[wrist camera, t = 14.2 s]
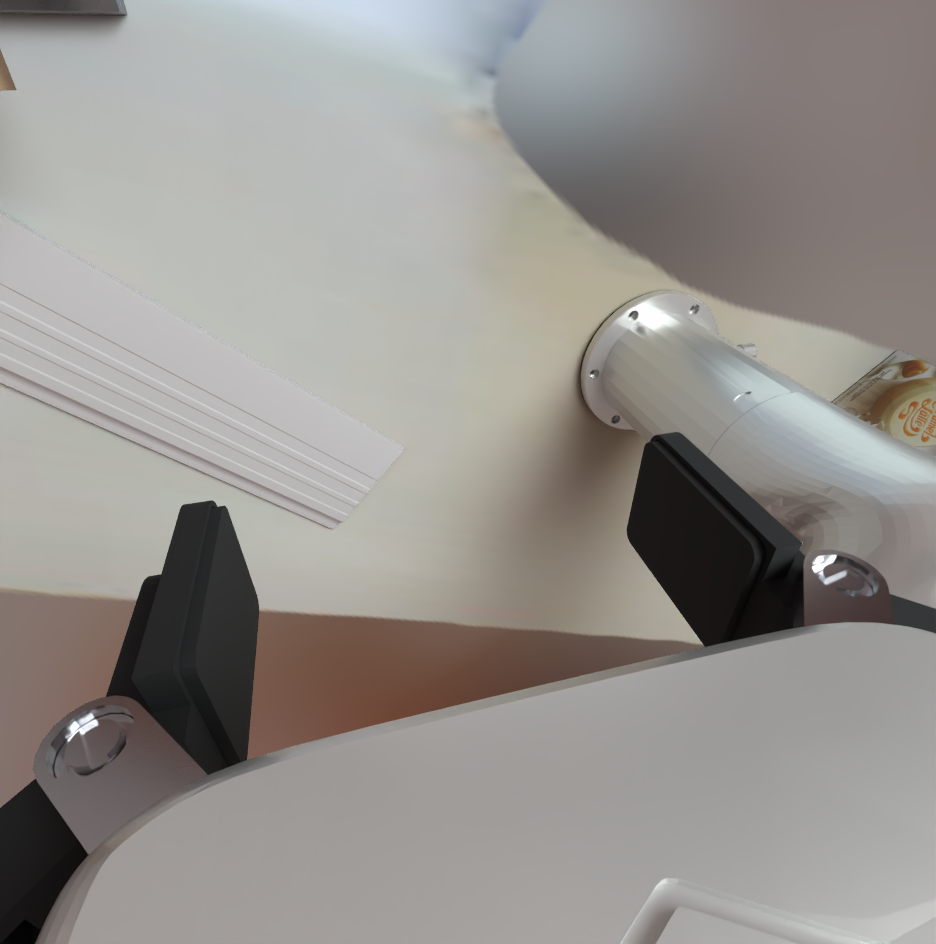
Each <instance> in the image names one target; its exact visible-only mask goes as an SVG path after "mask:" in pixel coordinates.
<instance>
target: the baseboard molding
mask: <svg viewBox="0 0 936 944" xmlns="http://www.w3.org/2000/svg"><path fill="white" fill-rule="evenodd" d="M0 383H2V384H4V385H7V386H9V387H11V388H13V389H16V390H18V391H20V392H22V393H25V394H27V395H29V396H31V397H34V398H36V399H38V400H41V401H43V402H45V403H47V404H50V405H52V406H54V407H56V408H59V409H61V410H63V411H66V412H68V413H70V414H72V415H75V416H77V417H79V418H81V419H84V420H86V421H88V422H90V423H93V424H95V425H97V426H100V427H102V428H104V429H106V430H109V431H111V432H113V433H115V434H118V435H120V436H122V437H124V438H127V439H129V440H131V441H134V442H136V443H138V444H140V445H143V446H145V447H147V448H149V449H152V450H154V451H156V452H158V453H161V454H163V455H165V456H168V457H170V458H172V459H174V460H177V461H179V462H181V463H183V464H186V465H188V466H190V467H193V468H195V469H197V470H199V471H202V472H204V473H206V474H208V475H211V476H213V477H215V478H217V479H220V480H222V481H224V482H227V483H229V484H231V485H233V486H236V487H238V488H240V489H242V490H245V491H247V492H249V493H251V494H254V495H256V496H258V497H261V498H263V499H265V500H267V501H270V502H272V503H274V504H276V505H279V506H281V507H283V508H286V509H288V510H290V511H292V512H295V513H297V514H299V515H301V516H304V517H306V518H308V519H310V520H313V521H315V522H317V523H320V524H322V525H324V526H326V527H329V528H331V529H334V528H335V527H336V525H337V524H338V523H340V522H344V520H345V519H346V518H347V517H348V515H349V514H350V513H351V511H352V510H353V509H354V508H355V507H356V506H357V505H358V504H359V502H360V501H361V499H362V498H363V497H364V496H365V495H366V494H367V493H368V492H369V491H370V489H371V488H372V486H373V485H374V484H375V483H376V482H377V481H378V480H379V479H380V478H381V476H382V475H383V474H384V473H385V472H386V470H387V469H388V468H389V467H390V466H391V465H392V463H393V462H394V461H395V460H396V459H397V457H398V456H399V455H400V454H401V453H402V451H403V450H404V448H403V446H402V445H400V444H399V443H397V442H395V441H393V440H392V439H390V438H388V437H387V436H385V435H383V434H381V433H380V432H378V431H376V430H375V429H373V428H371V427H369V426H368V425H366V424H364V423H363V422H361V421H359V420H357V419H356V418H354V417H352V416H351V415H349V414H347V413H345V412H344V411H342V410H340V409H339V408H337V407H335V406H333V405H332V404H330V403H328V402H327V401H325V400H323V399H321V398H320V397H318V396H316V395H315V394H313V393H311V392H309V391H308V390H306V389H304V388H303V387H301V386H299V385H297V384H296V383H294V382H292V381H291V380H289V379H287V378H285V377H284V376H282V375H280V374H279V373H277V372H275V371H273V370H272V369H270V368H268V367H267V366H265V365H263V364H261V363H260V362H258V361H256V360H255V359H253V358H251V357H249V356H248V355H246V354H244V353H243V352H241V351H239V350H237V349H236V348H234V347H232V346H231V345H229V344H227V343H225V342H224V341H222V340H220V339H219V338H217V337H215V336H213V335H212V334H210V333H208V332H207V331H205V330H203V329H201V328H200V327H198V326H196V325H195V324H193V323H191V322H189V321H188V320H186V319H184V318H183V317H181V316H179V315H177V314H176V313H174V312H172V311H171V310H169V309H167V308H165V307H164V306H162V305H160V304H159V303H157V302H155V301H153V300H152V299H150V298H148V297H147V296H145V295H143V294H141V293H140V292H138V291H136V290H135V289H133V288H131V287H129V286H128V285H126V284H124V283H123V282H121V281H119V280H117V279H116V278H114V277H112V276H111V275H109V274H107V273H105V272H104V271H102V270H100V269H99V268H97V267H95V266H93V265H92V264H90V263H88V262H87V261H85V260H83V259H81V258H80V257H78V256H76V255H74V254H73V253H71V252H69V251H68V250H66V249H64V248H62V247H61V246H59V245H57V244H56V243H54V242H52V241H50V240H49V239H47V238H45V237H44V236H42V235H40V234H38V233H37V232H35V231H33V230H32V229H30V228H28V227H26V226H25V225H23V224H21V223H20V222H18V221H16V220H14V219H13V218H11V217H9V216H8V215H6V214H4V213H2V212H1V211H0Z"/></svg>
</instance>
